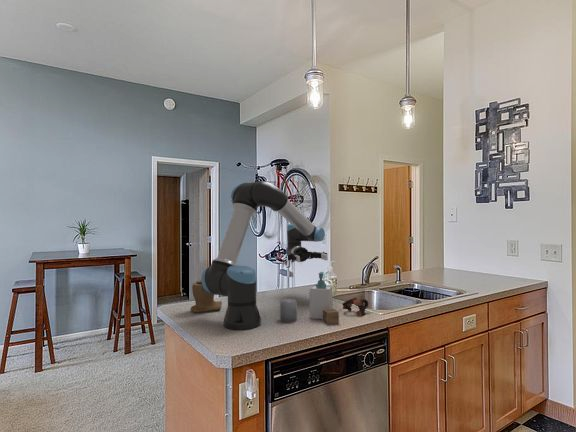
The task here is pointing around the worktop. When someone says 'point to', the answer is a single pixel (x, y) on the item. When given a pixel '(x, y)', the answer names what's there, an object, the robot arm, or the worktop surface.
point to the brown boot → (203, 299)
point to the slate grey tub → (288, 310)
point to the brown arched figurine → (358, 303)
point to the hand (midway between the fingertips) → (313, 258)
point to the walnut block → (330, 316)
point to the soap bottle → (320, 298)
